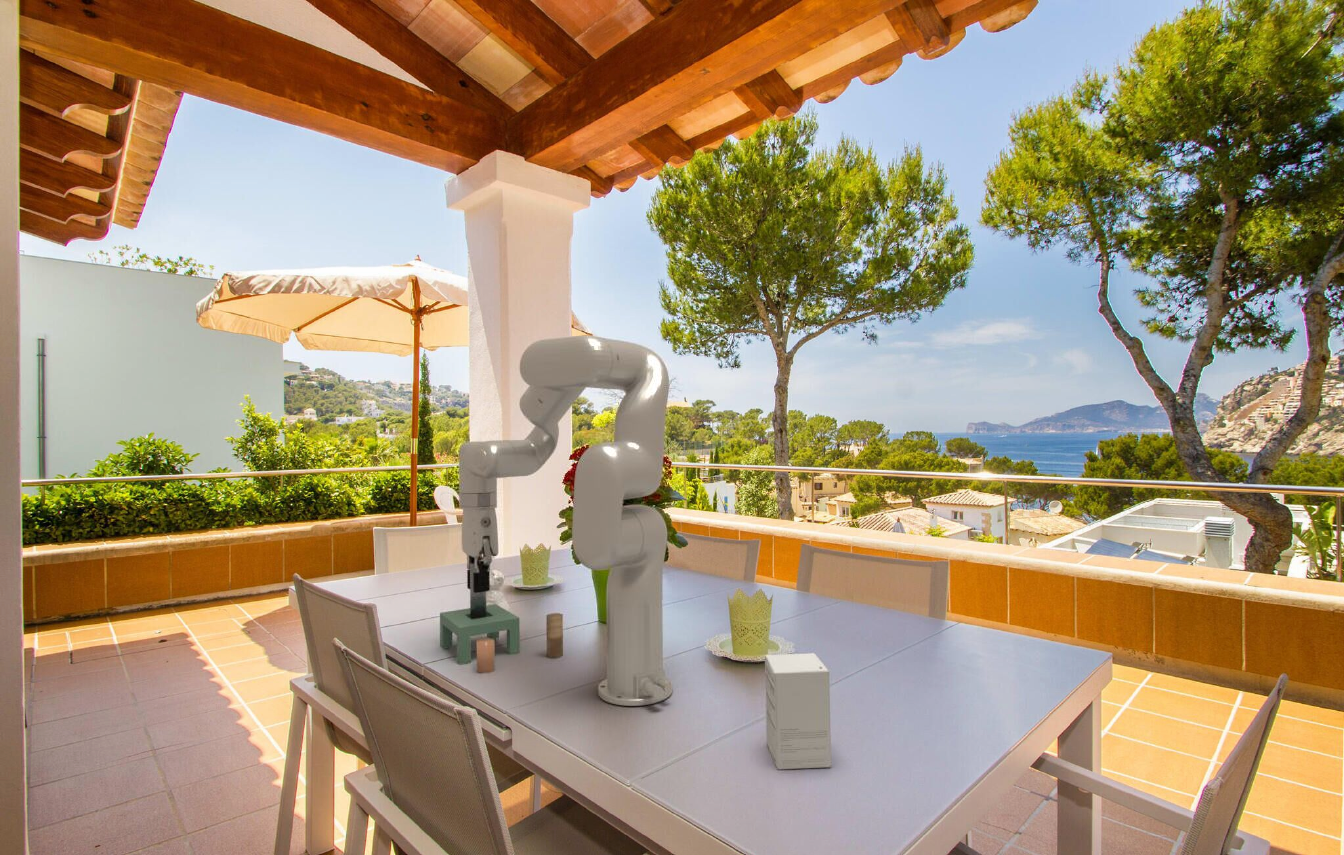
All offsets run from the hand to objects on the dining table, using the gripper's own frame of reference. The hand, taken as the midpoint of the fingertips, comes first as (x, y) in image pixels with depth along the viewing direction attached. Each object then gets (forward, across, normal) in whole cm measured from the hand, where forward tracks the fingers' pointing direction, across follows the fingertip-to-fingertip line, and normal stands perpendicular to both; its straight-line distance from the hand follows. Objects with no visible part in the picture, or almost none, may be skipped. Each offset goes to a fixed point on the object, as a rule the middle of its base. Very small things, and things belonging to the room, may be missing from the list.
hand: (478, 589), depth 136 cm
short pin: (+12, -13, +3) cm, 18 cm away
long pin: (+6, 0, 0) cm, 6 cm away
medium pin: (+12, -13, -11) cm, 21 cm away
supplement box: (+12, -71, -20) cm, 75 cm away
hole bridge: (+12, 0, 0) cm, 12 cm away
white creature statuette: (+13, +21, -10) cm, 26 cm away
